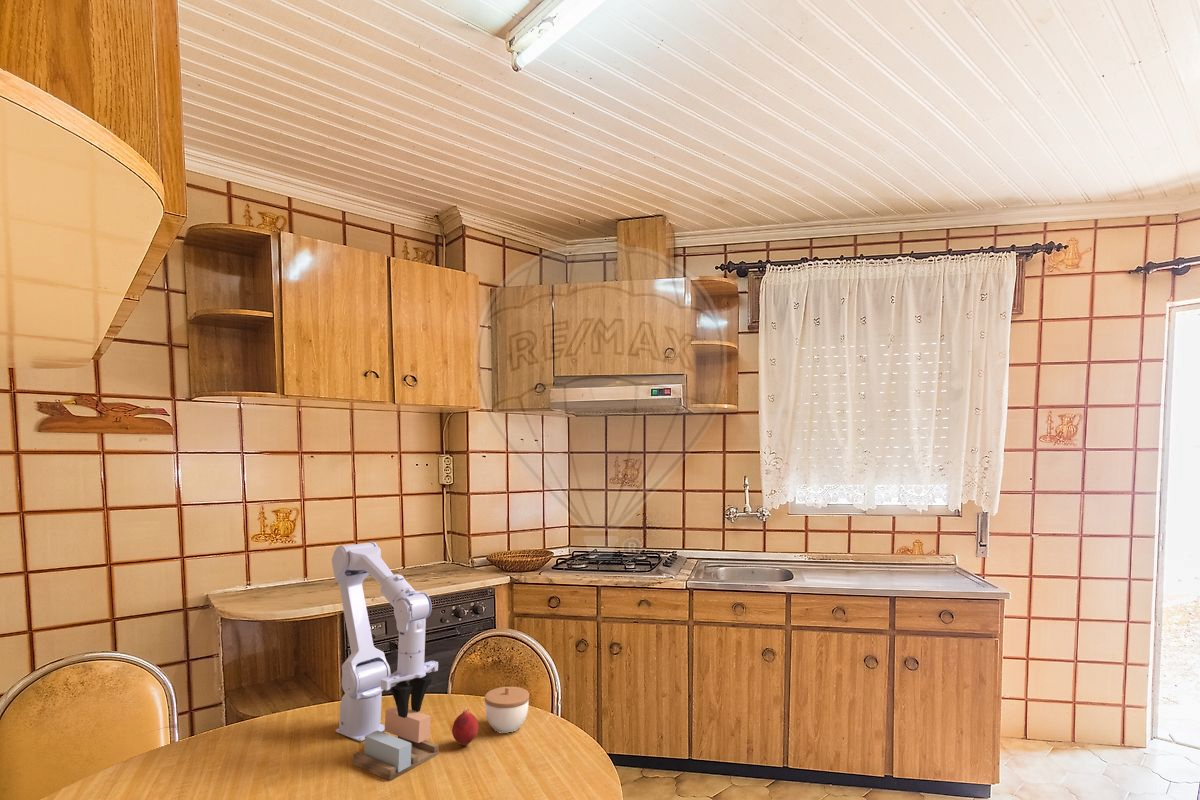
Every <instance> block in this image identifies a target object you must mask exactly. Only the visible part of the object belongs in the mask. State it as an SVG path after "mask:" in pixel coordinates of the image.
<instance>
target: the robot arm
mask: <svg viewBox="0 0 1200 800" xmlns="http://www.w3.org/2000/svg"><path fill="white" fill-rule="evenodd" d="M331 564H332V571H333V576H334V581H335V583H337V584H338V585H339V592H340V596H341V597H340V598H341V603H342V608H343V609H342V610H343V614H344V620H345V625H346V631H347V637H348V643H349V647H350V648H349V649H350V654H349V656H348V657H347V658H346V660H345V661H344V662H343V663H342V665H341V672H342V673H341V674H342V675H341V676H342V677H341V687H342V690H343V692H344V694H343V695H342V697H341V700H340V704H339V720H338V728H336V729H335V733H338V734H340V735H343V736H345V737H348V738H350V739H352V740H354V741H357V742H364V741H365V736H366V735H368V734H370V733H372V732H375V731H377V730H378V731H381V732H383V733H384V732H385V731H384V730H385V724H382V722H381V719H382V717H381V716H382V695H383V694H382V693H383V691H390V692H391V695H392V696H393V699H394V701H395V706H397V711H398V716H400V717H403V718H405V717H407V714H408V709H409V703H410V708H411V709H410V710H413V711H416V712H419V713H420V711H421V709H422V706H423V702H424V701H423V700H424V697H425V694H426V692H427V690H428V688H429V686H430V685H431V683H432V678H433V677H432V676H431V675H428V674H429V673H432V672H438V671H439V661H435V660H430V661H426V662H425V658H426V657H425V654H426V653H425V652H426V651H425V649H426V627H427V626H426V625H427V624H426V623H427V618H429V617H430V616H431V613H432V611H433V610H432V609H433V607H432V605H433V604H432V600H431V597H430V596H429V595H428V593H427V592H424V591H421V592H420V590H419V591H418V590H415V589H414V587H412V585H411V584H410V583H409V582H408V581H407V580H406V579H405V577H404V575H402V574H394V573H393V571H391V569H390V568H389V566H388V565H387V564H386V562H385V561H384V560H383V558H382V550H381V547H379V546H378V544H377V543H376V542H375V541H369V542H363V543H355V544H347V545H339V546H336V548H335V549H334V552H333V555H332V558H331ZM370 576H371V577H372V578H373V579H374V580H375V581H376V582H377V583H378V584H379V585H380V594H381V595H382V596H383V597H384V598H385V599H386V600H387V602H388V603H389V604H390V606H392V607H393V616H394V618H395V621H396V629H397V631H398V647H397V648H398V649H397V650H398V651H397V669H396V671H394V672H393V673H391V667H390V665H389V663H388V661H387V659H386V656H385V655H386V654H385V652H384V651H383V650H380V649H379V648H376V647H375V645H374V641H373V640H374V639H373V635H372V629H371V626H370V624H371V623H370V619H369V614H368V608H367V604H366V599H365V594H364V593H365V592H364V588H363V582H364V581H365V579H366V578H368V577H370ZM359 664H360V665H359ZM407 682H409V685H408V683H407Z"/></svg>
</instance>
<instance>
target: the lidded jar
mask: <svg viewBox="0 0 1200 800" xmlns="http://www.w3.org/2000/svg"><path fill="white" fill-rule="evenodd" d="M529 700H530V692H529V691H528V690H527V689H525V688H524V687H520V686H501V687H497V688H493V689H490V690H489V691H487V693H486V694H485V695H484V709H485V716H486V717H485V718H486V720H487V722H488V724H489V726H491V728H493V730H494V732H496V731H497V732H496V733H498V732H501V733H500V734H503V733H507V734H509V733H508V732H512V733H514V732H513V731H515V730H517V729H518V728H519V729H520V727H522V725H523V723H525V721H526V719H527V716H528V712H529V702H530V701H529ZM519 729H518V730H519ZM518 730H517V731H518ZM515 732H516V731H515Z"/></svg>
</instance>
